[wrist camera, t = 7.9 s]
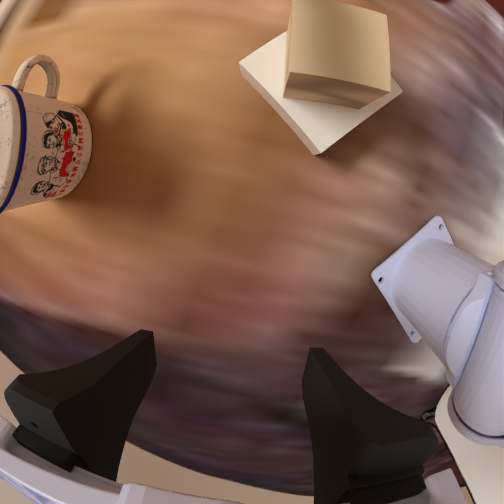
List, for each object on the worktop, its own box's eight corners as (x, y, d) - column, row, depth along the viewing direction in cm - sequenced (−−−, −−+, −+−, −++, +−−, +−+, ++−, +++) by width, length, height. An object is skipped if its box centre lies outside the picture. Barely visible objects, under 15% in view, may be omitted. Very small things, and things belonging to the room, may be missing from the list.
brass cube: (359, 45, 14) (386, 15, 9) (358, 109, 15) (390, 91, 11) (286, 32, 14) (293, -6, 9) (282, 97, 16) (289, 71, 11)
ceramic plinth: (386, 100, 18) (403, 91, 15) (312, 155, 19) (321, 153, 16) (320, 26, 16) (327, 9, 13) (241, 76, 18) (238, 62, 15)
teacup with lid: (85, 210, 20) (-20, 246, 9) (21, 191, 20) (-69, 213, 9) (119, 71, 17) (26, 19, 6) (47, 73, 17) (-39, 49, 5)
